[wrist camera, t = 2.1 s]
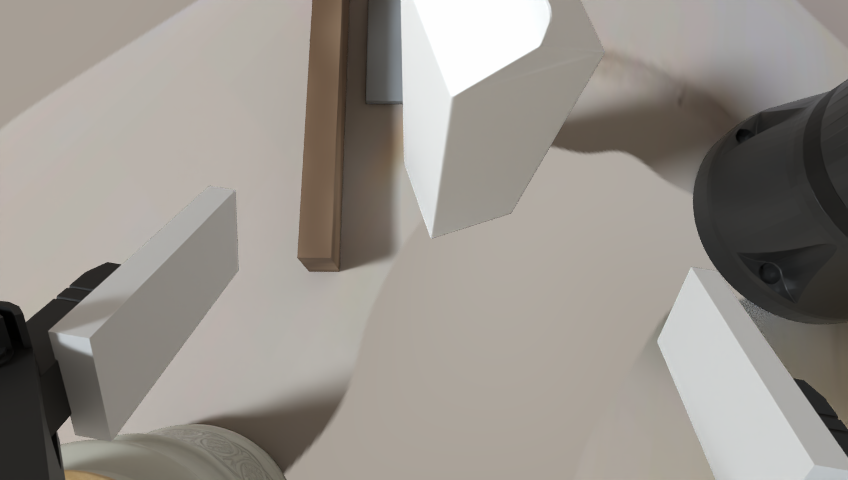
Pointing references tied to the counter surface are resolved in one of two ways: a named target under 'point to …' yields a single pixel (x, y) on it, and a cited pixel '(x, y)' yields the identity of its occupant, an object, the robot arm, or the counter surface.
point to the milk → (487, 99)
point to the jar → (170, 456)
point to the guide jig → (339, 116)
